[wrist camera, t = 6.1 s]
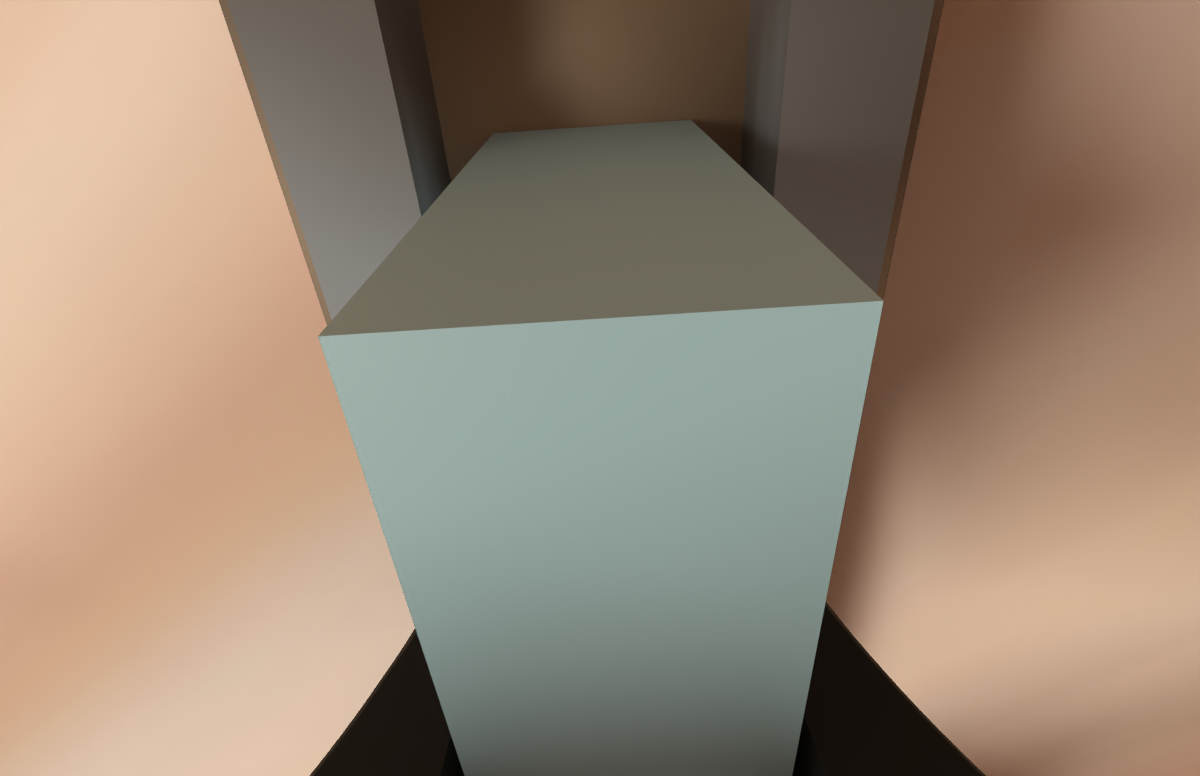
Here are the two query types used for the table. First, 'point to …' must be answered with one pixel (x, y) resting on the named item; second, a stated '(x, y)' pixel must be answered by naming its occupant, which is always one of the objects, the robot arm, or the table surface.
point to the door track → (580, 103)
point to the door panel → (610, 450)
